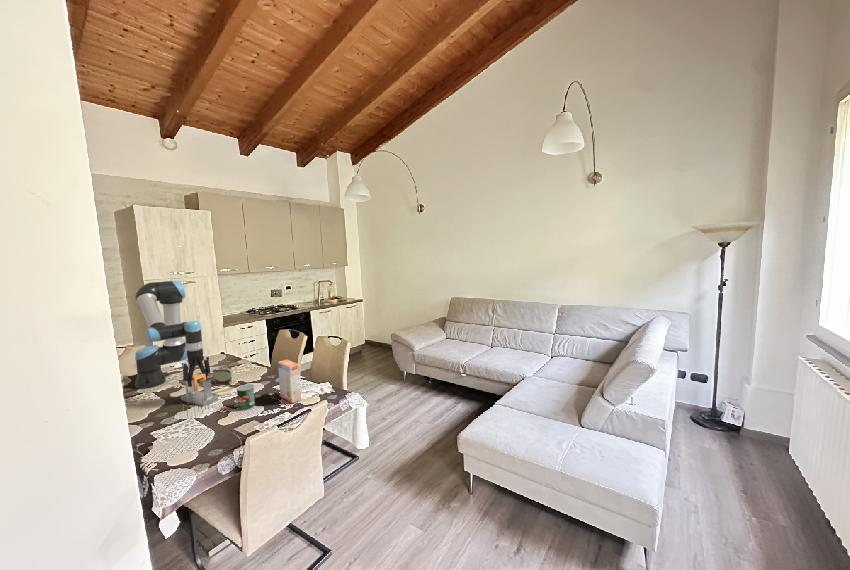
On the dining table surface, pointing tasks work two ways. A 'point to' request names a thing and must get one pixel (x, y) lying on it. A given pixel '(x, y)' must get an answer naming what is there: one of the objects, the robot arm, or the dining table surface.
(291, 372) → the cracker box
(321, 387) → the dining table surface
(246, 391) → the canned tomato
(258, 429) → the dining table surface
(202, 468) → the dining table surface
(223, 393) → the pad
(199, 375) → the orange notched sleeve
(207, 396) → the rail stand
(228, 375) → the food container
